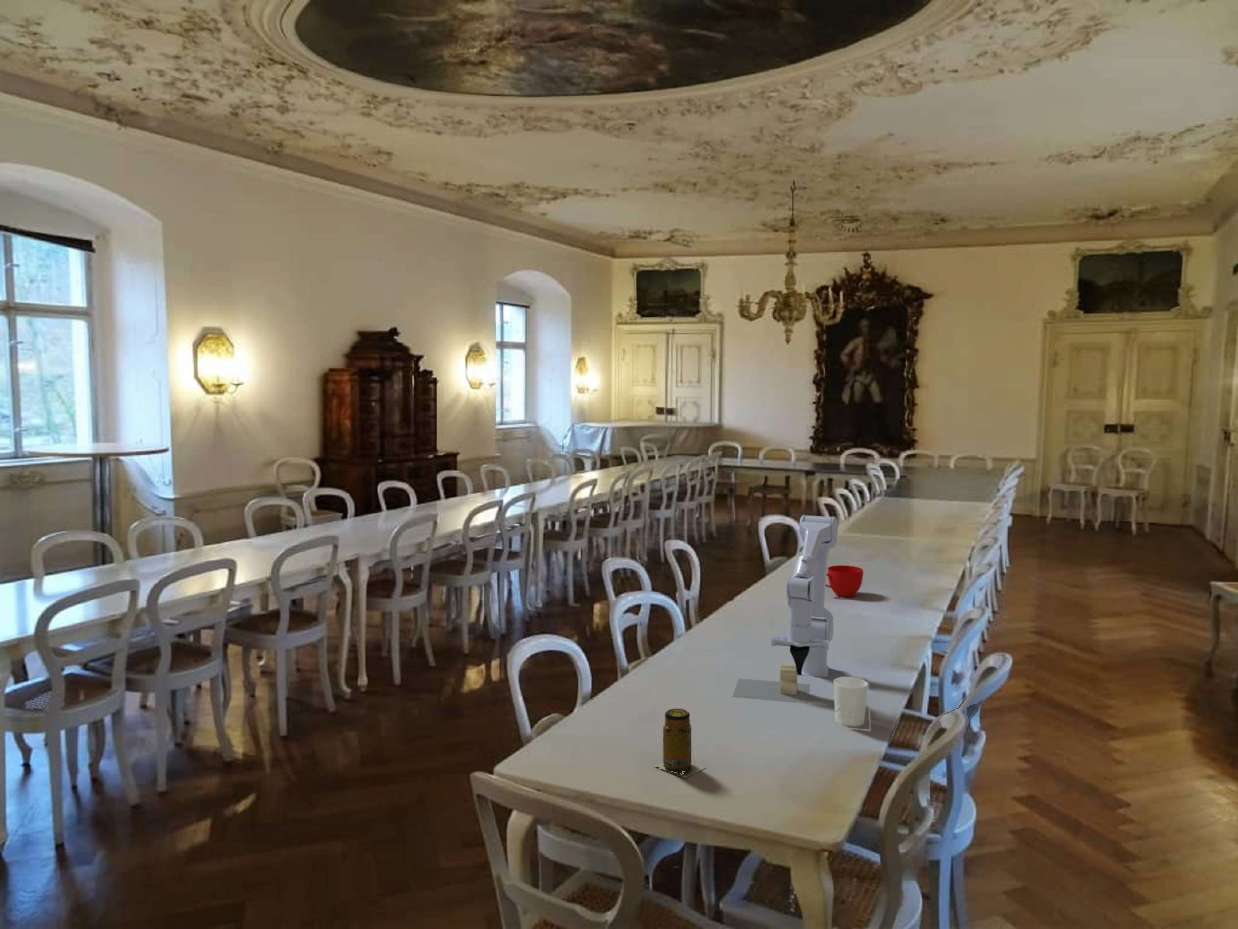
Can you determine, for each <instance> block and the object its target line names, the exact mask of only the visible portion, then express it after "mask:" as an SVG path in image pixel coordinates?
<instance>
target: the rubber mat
mask: <svg viewBox="0 0 1238 929" xmlns="http://www.w3.org/2000/svg"><path fill="white" fill-rule="evenodd" d="M810 686H811V685H810V683H809V684H808V683H800V682H799V683H798V682H797V694H796V695H792V694H781V681H774V680H761V679H751V678H750V679H748V678H739V677H738V680H737V683H736V685H735V688H734V691H733V694H732V698H743V699H752V700H753V699H756V700H764V701H776V702H777V701H778V702H790V703H799V704H801V703H802V704H808V699H809V693H810Z"/></svg>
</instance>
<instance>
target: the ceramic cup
mask: <svg viewBox="0 0 1238 929" xmlns="http://www.w3.org/2000/svg"><path fill="white" fill-rule="evenodd" d="M826 577H827V579H828V584H827V583H826V587H828V588H830V589H831V590H832V592H834V594H835V595H836V596H837V597H842V598H851V597H854V596H855V595H856V594H857V593H858V591H859V590H860V589H861V586H862V584H863V578H864V569H863V568H861V567H859V566H854V565H844V564H843V565H841V564H839V565H838V564H837V565H830V566H827V574H826Z"/></svg>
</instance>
